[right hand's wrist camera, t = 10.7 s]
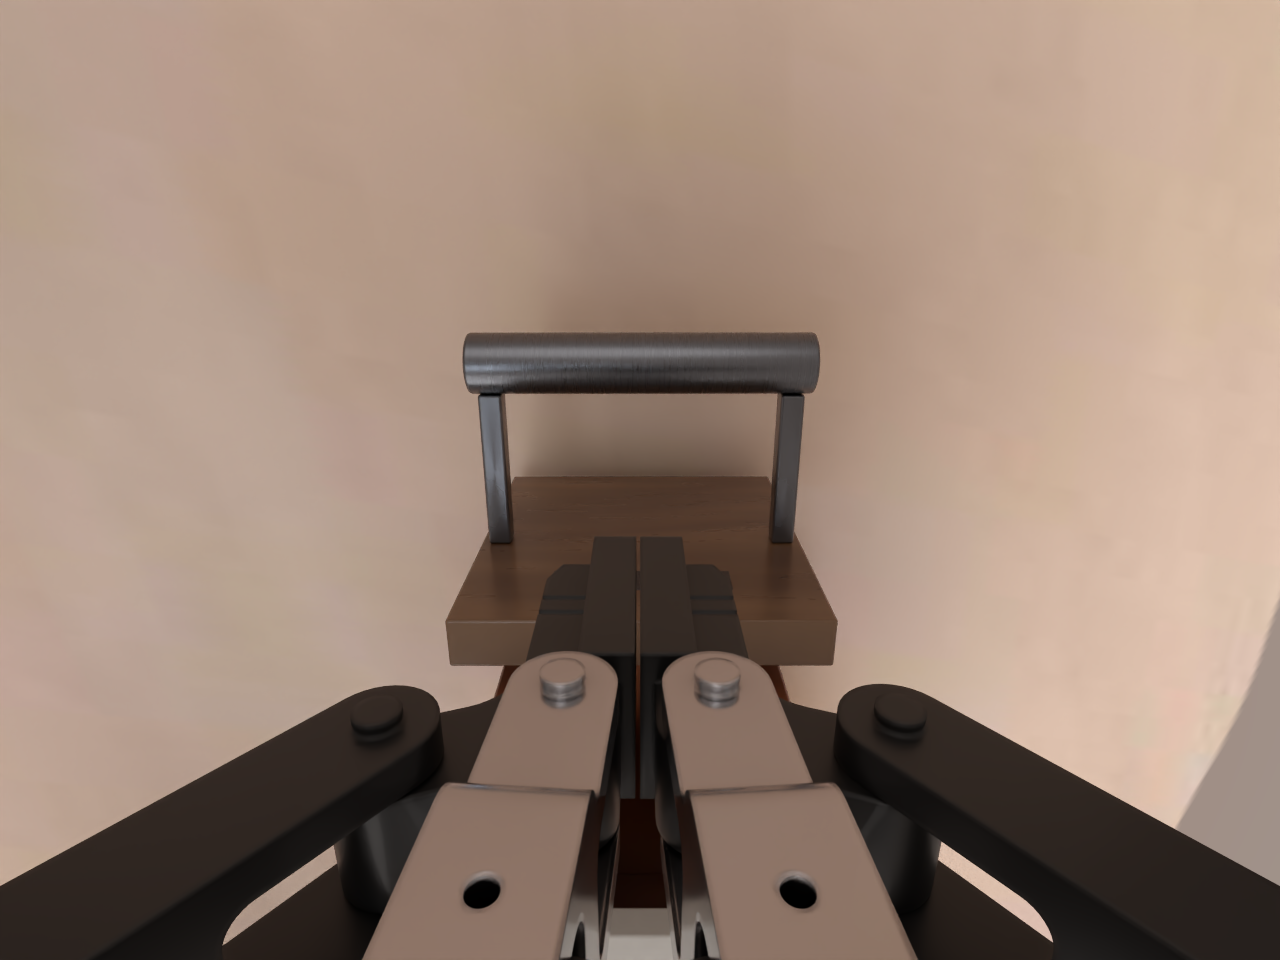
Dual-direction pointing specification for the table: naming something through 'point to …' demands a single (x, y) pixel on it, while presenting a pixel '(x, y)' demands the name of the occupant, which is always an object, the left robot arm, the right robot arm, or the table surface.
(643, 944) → the tall grey storage box
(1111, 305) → the table surface
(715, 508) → the drawer
